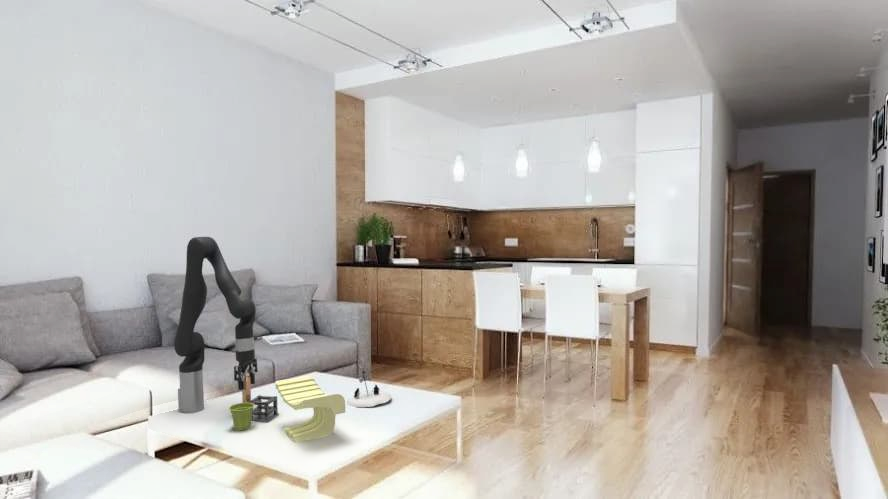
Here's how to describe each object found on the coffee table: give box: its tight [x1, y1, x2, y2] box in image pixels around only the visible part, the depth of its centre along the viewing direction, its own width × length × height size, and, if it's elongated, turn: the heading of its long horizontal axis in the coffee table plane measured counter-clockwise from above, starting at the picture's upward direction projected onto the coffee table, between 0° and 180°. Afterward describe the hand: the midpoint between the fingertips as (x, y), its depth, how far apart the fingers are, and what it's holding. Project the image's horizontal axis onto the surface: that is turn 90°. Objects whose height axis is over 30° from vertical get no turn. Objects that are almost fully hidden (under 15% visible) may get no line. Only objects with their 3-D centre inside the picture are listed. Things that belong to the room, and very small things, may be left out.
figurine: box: [346, 366, 392, 408], centre depth 258 cm, size 20×18×16 cm
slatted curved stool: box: [275, 375, 346, 443], centre depth 221 cm, size 30×16×18 cm, turn 34°
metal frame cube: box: [248, 394, 279, 424], centre depth 238 cm, size 9×9×8 cm
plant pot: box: [228, 402, 255, 431], centre depth 227 cm, size 9×9×9 cm
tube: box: [241, 375, 252, 403], centre depth 242 cm, size 4×4×16 cm
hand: (246, 386), depth 242 cm, fingers open, 8 cm apart
